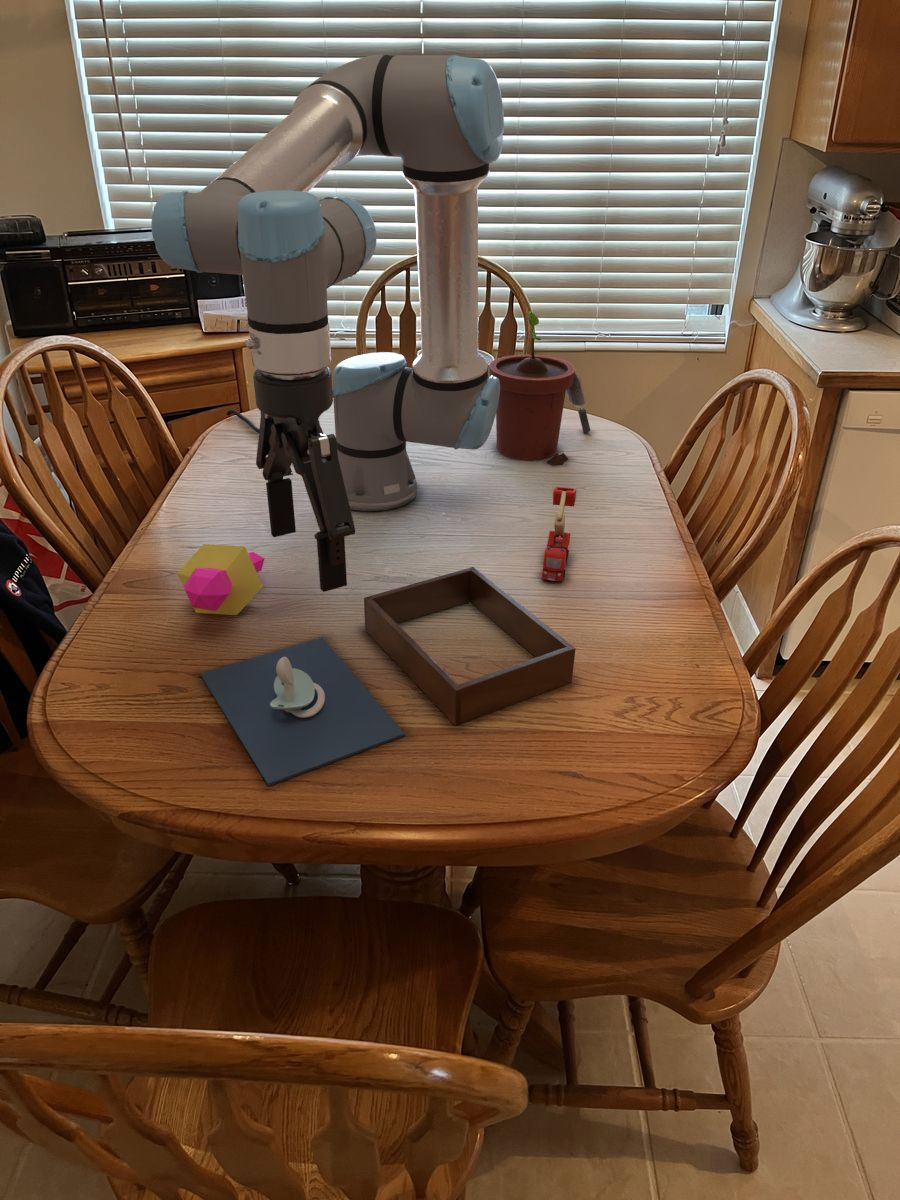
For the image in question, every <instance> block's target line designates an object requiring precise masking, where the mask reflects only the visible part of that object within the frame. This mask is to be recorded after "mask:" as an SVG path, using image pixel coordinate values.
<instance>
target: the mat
mask: <svg viewBox="0 0 900 1200" xmlns="http://www.w3.org/2000/svg"><path fill="white" fill-rule="evenodd" d="M282 657H287V658H288V660H289V661H290V664H291V666H292V668H295V669H299V670H301V671H303V672H305V673H307V674H308V675H309V676H310V678H311V679H312V681H313V683H315V684H318V685H319V686H320V687H321V688H322V689H323V691H324V694H325V702H324V705H323V707H322V708H321V710H320V711H319V712H318V713H316V714H315V715H313V716H311V717H306V718H301V717H297V716H295V715H293V714H292V713H290V712H286V711H285V710H279V709H273V708H271V706H270V703H271V702H272V700H274V699H275V698H277V695H276V693H275V691H274V681H275V679H276V677H277V676H278V675H277V671H276V666H277V663H278V661H279V660H280V659H281V658H282ZM199 676H200V678H201V679H202V681H203V682H204V684H205V686H206V688H207V690H208V691H209V692H210V693H211V696H212V697H213V699H214V701H215V702H216V704H217V705H218V707H219V709H220V711H221V712H222V714H223V715H224V717H225V719H226V720H227V722H228V723H229V725H230V726H231V728H232V730H233V731H234V733H235V735H236V736H237V738H238V739H239V742H240V743H241V745H242V746H243V748H244V749H245V751H246V753H247V754H248V756H249V757H250V759H251V761H252V763H253V764H254V766H255V767H256V769H257V770H258V772H259V773H260V775H261V777H262V779H263V780H264V782H265V784H266V785H267V786H268V787H270V786H274V785H275V784H279V783H281V782H284V781H287V780H289V779H292V778H296V777H298V776H301V775H303V774H306V773H309V772H311V771H314V770H317V769H319V768H322V767H325V766H327V765H330V764H333V763H335V762H338V761H340V760H343V759H344V760H345V759H346V758H350V757H351V756H355V755H357V754H360V753H363V752H365V751H368V750H371V749H373V748H376V747H379V746H381V745H384V744H388V743H389V742H392V741H395V740H398V739H401V738H404V737H405V736H406V733H405V732H404V731H403V729H402V728H401V727H400V726H399V725H398V724H397V722H396V721H395V720H394V719H393V718H392V717H391V715H390V714H389V713H388V712H387V711H386V709H385V708H384V707H383V706H382V705H381V703H380V702H379V701H378V700H377V699H376V698H375V697H374V696H373V694H372V693H371V692H370V691H369V689H368V688H367V687H366V686H365V685H364V684H363V682H362V681H360V679H359V678H358V676H356V674H354V672H353V671H352V670H351V668H349V666H348V665H347V664H346V663H345V662H344V660H343V659H342V658H341V657H340V656H339V654H338V653H337V652H336V651H335V650H334V649H333V648H332V646H331V645H330V644H329V643H328V641H326V639H325V638H324V637H318V638H314V639H311V640H309V641H305V642H301V643H299V644H295V645H292V646H289V647H284V648H280V649H278V650H275V651H271V652H268V653H265V654H262V655H261V654H260V655H257V656H254V657H251V658H248V659H245V660H244V659H243V660H241V661H238V662H235V663H231V664H228V665H224V666H221V667H218V668H214V669H211V670H208V671H204V672H202V673H200V675H199ZM282 685H283V686H284V683H283V682H282ZM317 699H318V696H317V694H316V693H315V694H314V699H313V701H312V702H311V703H310V704H309V705H307V706H305V707H302V708H301V709H300V710H308V709H310V708H312V707H313V706H314V705H315V704H316V702H317Z"/></svg>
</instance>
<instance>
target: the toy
mask: <svg viewBox="0 0 900 1200" xmlns="http://www.w3.org/2000/svg"><path fill="white" fill-rule="evenodd" d="M264 562H265V557H263V556H262V555H259V554H258V553H256V552H255V551H248V550H247V548H246V546H245V545H228V544H211V543H210V544H209V543H203V544H202V545H201V546H200V547H199V548H198V549H197V550H196V552H194V554H193V555H192V556H191V557H190V558H189V559H188V561H186V563H185V564H183V566H182V567H181V568H180V570H178V572H177V576H178V578H179V580H180V582H181V584H182V586H183V589H184V591H185V594H186V596H187V598H188V600H189V602H190V604H191V606H192V608H193V610H194V612H195V613H196V614H209V615H223V616H224V615H226V616H238V614H240V613H241V611H242V610H243V609H244V608H245V607H246V606H247V605H248V604H249V603H250V602H251V601H252V600H253V599H254V597H255V596H256V595H257V594H258V593H259V592H260V591H261V590H262V589H263V588H264V585H263V583H262V580H261V579H260V576H259V574H258V573H259V572H261V571H262V570H263V567H264Z"/></svg>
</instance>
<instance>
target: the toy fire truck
mask: <svg viewBox="0 0 900 1200" xmlns="http://www.w3.org/2000/svg"><path fill="white" fill-rule="evenodd" d="M552 492H553V493H552V505H553V506H559V507H558V513H555V519H554V524H553V526H554V527H553V529H554V530H549V533H548V538H547V542H546V547H545V548H544V552H543V553H544V554H543V556H544V557H543V563H542V570H541V571H542V572H541V578H542V579H543V580H546V581H550V582H551V581H552V582H562V581H563V580H564V579H565V577H566V565H567V564H568V560H569V553H570V550H569V547H570V540H571V533H570V532H565V530H566V529H565V526H566V525H565V524H566V514H564V511H565V507H571V508H574V507H575V505H576V500H577V488H574V487H564V486H561V487H560V486H554V489H553V490H552Z"/></svg>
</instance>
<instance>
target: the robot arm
mask: <svg viewBox="0 0 900 1200" xmlns="http://www.w3.org/2000/svg"><path fill="white" fill-rule="evenodd" d="M502 98H503V97H502V93H501V87H500V84H499V81H498V78H497V76H496V72H495V71H494V69H493V68H492V66H491V65H490V64H489V62H487V61H486V60H484V59H481V58H478V57H477V58H476V57H467V56H461V55H460V56H459V55H458V54H448V55H447V54H446V55H445V54H441V55H440V54H434V55H433V54H432V55H431V54H429V55H427V54H426V55H425V54H424V55H423V54H418V55H417V54H416V55H414V54H413V55H411V54H410V55H409V54H407V55H404V54H402V55H391V54H390V55H389V54H373V55H366V56H363V57H360V58H356V59H354V60H350V61H349V62H346V63H343V64H342V65H339V66H338V67H336V68H334V69H332V70H330V71H328V72H326V73H325V74H323V75H322V76H319V77H318V78H317V79H315V80H314V81H312V82H311V83H310V84H309V85H308V86H306V87H305V88H304V89H303V90H302V91H301V92H300V93H298V95H297V96H296V98H295V100H294V103H293V105H292V109H291V112H290V113H289V114H288V115H287V116H286V117H284V118H283V119H282V120H281V121H280V122H279V123H278V124H277V125H276V126H274V127H273V128H272V129H271V130H270V131H269V132H267V133H266V134H265V135H264V136H263V137H262V138H261V139H259V140H258V141H257V142H256V143H254V145H252V146H251V147H250V148H249V149H248V150H247V151H246V152H244V153H243V154H242V155H241V156H240V157H238V159H236V160H235V161H234V162H233V163H232V164H230V165H229V166H228V167H227V168H226V169H225V170H224V171H223V172H222V173H220V174H219V175H218V176H217V177H216V178H215V179H213V180H212V181H211V182H210V183H209V184H208V185H206V186H205V187H204V188H202V190H201V191H198V192H190V191H188V190H182V191H181V192H180V191H179V192H177V191H176V192H175V191H173V192H167V193H164V194H162V195H161V196H160V197H159V198H158V199H157V201H156V203H155V205H154V207H153V210H152V215H151V224H150V225H151V236H152V239H153V241H154V244H155V250H156V252H157V253H158V254H157V255H158V256H159V257H160V259H161V260H162V261H163V262H164V263H165V264H167V265H168V266H170V267H172V268H175V269H180V270H187V271H192V272H193V271H194V272H196V273H197V274H199V273H201V274H202V273H210V274H211V273H212V274H213V273H214V274H225V275H238V276H242V280H243V288H244V289H243V290H244V295H245V296H244V297H245V303H246V312H247V313H246V314H247V316H246V317H247V327H248V333H249V338H247V339H245V341H244V344H245V347H246V349H248V350H250V353H251V363H252V366H253V367H254V368H255V369H256V370H254V372H253V375H252V377H253V389H254V397H255V398H254V399H255V405H256V407H257V409H258V411H260V420H259V427H257V426H256V424H254V423H253V421H251V420H250V419H249V418H248V417H246V416H244V415H243V414H242V413H240V411H237V410H236V409H229V410H227V412H226V414H225V415H226V416H231V415H235V416H237V417H238V419H240V420H241V421H243V422H245V423H246V424H247V425H248V426H249V427H250V428H251V429H252V430H253V431H255V432H256V433H257V434H258V440H257V449H256V459H255V464H256V467H257V469H258V470H262V477H263V479H264V480H265V481H267V482H265V487H266V496H267V498H266V499H267V505H268V515H269V524H270V525H269V526H270V535H271V537H273V538H278V537H281V536H285V535H289V534H294V533H296V532H297V529H296V518H295V506H294V505H295V504H294V494H293V482H292V479H291V478H290V477H288V476H293V475H294V472H295V473H296V474H297V475H299V476H301V479H302V482H303V484H304V487H305V490H306V493H307V496H308V499H309V502H310V505H311V509H312V511H313V514H314V517H315V520H316V524H317V527H318V529H319V531H317V532H316V533H315V534H314V535H313V537H314V540H316V549H317V551H316V552H317V561H318V563H317V564H318V576H319V577H318V578H319V589H320V590H321V592H323V593H325V592H329V591H333V590H336V589H339V588H343V587H346V586H348V579H347V577H348V576H347V559H346V557H347V556H346V541H345V540H346V539H345V537H348V536H353V535H355V534H356V527H355V522H354V518H353V514H352V510H353V511H360V512H361V511H362V512H380V511H381V512H382V511H389V510H394V509H397V508H400V507H403V506H405V505H408V504H409V503H411V502H412V501H413V500H414V499H415V498H416V497H417V495H418V483H417V477H416V475H415V471H414V469H413V466H412V463H411V460H410V457H409V454H408V450H407V442H408V443H414V444H422V445H429V446H437V447H443V448H444V447H445V448H452V449H454V450H458V449H461V450H471V451H472V450H478V449H481V448H482V447H483V446H484V445H485V443H486V442H487V441H488V439H489V437H490V434H491V432H492V428H493V425H494V423H495V420H496V411H497V407H498V401H499V395H500V381H499V379H498V378H497V377H494V376H493V375H491V376H490V375H489V362H488V360H487V358H486V357H485V356H484V355H482V353H480V352H479V186H480V185H481V184H482V183H483V181H484V180H485V179H486V178H487V177H488V176H489V175H490V164H492V163H494V162H496V161H498V159H499V158H500V156H501V154H502V150H503V145H504V137H503V135H504V133H505V117H504V104H503V99H502ZM362 156H364V157H365V156H378V157H391V158H401V169H402V170H401V171H402V177H403V178H404V179H405V180H406V181H407V182H408V183H409V184H410V185H411V186H412V187H413V189H414V204H415V205H414V206H415V207H414V208H415V228H416V229H415V230H416V249H417V250H416V251H417V252H416V253H417V273H418V296H419V319H420V342H421V343H420V344H421V345H420V346H421V353H420V354H419V355H418V356H417V357H416V358H415V359H414V361H413V363H412V367H410V366H409V367H408V366H407V363H408V361H406V358H405V356H404V355H402V354H401V353H400V354H399V353H398V352H389V351H387V352H386V351H381V352H380V351H379V352H370V353H364V354H360V355H356V356H352V357H349V358H347V359H345V360H343V361H341V362H339V363H338V364H337V365H336V366H335V367H334V370H333V373H332V370H331V369H330V368H329V365H331V363H332V350H331V349H332V347H331V331H330V329H331V328H330V320H329V312H328V311H329V309H328V308H329V307H328V289H329V288H330V287H332V286H335V285H336V284H338V283H340V282H342V281H344V280H346V279H348V278H352V277H353V276H355V275H357V273H359V272H360V271H361V269H362V268H363V267H365V266H366V265H367V264H368V263H369V262H370V260H371V259H372V258H373V256H374V253H375V250H376V247H377V238H378V236H377V230H376V224H375V222H374V220H373V218H372V216H371V214H370V213H369V211H368V210H367V208H365V206H364V205H363V204H361V203H360V202H358V201H357V200H355V199H353V198H351V197H347V196H326V197H324V198H321V199H319V198H318V197H317V196H316V195H315V194H313V193H310V192H311V190H313V189H314V188H315V186H317V185H318V183H319V182H320V181H321V180H322V179H323V178H324V177H325V176H326V175H327V174H328V173H329V172H330V171H331V170H332V169H333V168H334V167H339V166H343V165H346V164H348V163H350V162H351V161H352V160H354V159H355V158H356V157H362ZM332 406H333V416H334V433H335V434H334V433H327V434H324V431H323V429H322V427H321V422H320V417H321V416H322V414H323V413H324V412H326V411H328V410H329V409H330V408H331V407H332ZM291 466H292V467H293V469H294V472H293V469H292V468H291ZM285 477H286V478H285Z"/></svg>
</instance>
